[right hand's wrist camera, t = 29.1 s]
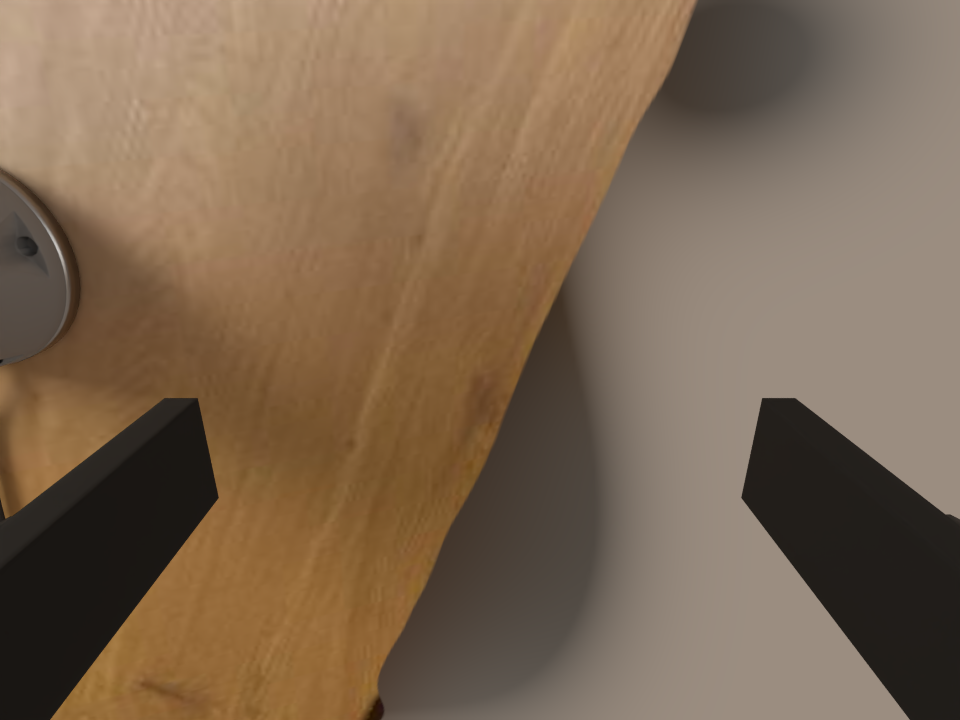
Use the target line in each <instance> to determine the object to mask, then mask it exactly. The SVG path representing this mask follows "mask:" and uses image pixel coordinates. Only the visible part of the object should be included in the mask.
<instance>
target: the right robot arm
mask: <svg viewBox="0 0 960 720" xmlns="http://www.w3.org/2000/svg"><path fill="white" fill-rule="evenodd" d="M79 298H80V278H79V272H78V267H77V263H76V259H75V256H74V253H73V251H72V248H71V246H70V243H69V241H68V239H67V237H66V235H65V233H64V232H63V230H62V228H61V227H60V225H59V224H58V222H57V221H56V219H55V218H54V216H53V215H52V214H51V212H50V211H49V210H48V209H47V207H46V206H45V205H44V204H43V203H42V202H41V201H40V200H39V199H38V198H37V197H36V196H35V195H34V194H33V193H32V192H31V191H30V190H29V189H28V188H26V187H25V186H24V185H23V184H22V183H20V182H19V181H18V180H16V179H15V178H13V177H12V176H11V175H9V174H7V173H6V172H4V171H2V170H1V169H0V366H3V365H7V364H11V363H15V362H18V361H22V360H24V359H27V358H29V357H31V356H34V355H36V354H38V353H40V352H42V351H44V350H46V349H48V348H50V347H51V346H53V345H54V344H55V343H57V342H58V341H59V340H60V339H61V338H62V337H63V336H64V334H65V333H66V332H67V331H68V329H69V328H70V326H71V324H72V322H73V320H74V318H75V315H76V312H77V309H78V305H79ZM218 498H219V497H218V493H217V488H216V483H215V478H214V473H213V469H212V464H211V459H210V454H209V450H208V445H207V440H206V435H205V431H204V426H203V421H202V416H201V412H200V407H199V402H198V398H164V399H163V400H162V401H161V402H159V403H158V404H157V405H155V406H154V407H153V408H152V409H150V410H149V411H148V412H146V413H145V414H144V415H142V416H141V417H140V418H139V419H137V420H136V421H135V422H133V423H132V424H131V425H130V426H128V427H127V428H126V429H124V430H123V431H122V432H121V433H119V434H118V435H117V436H115V437H114V438H113V439H112V440H110V441H109V442H108V443H106V444H105V445H104V446H102V447H101V448H100V449H99V450H97V451H96V452H95V453H93V454H92V455H91V456H90V457H88V458H87V459H86V460H84V461H83V462H82V463H81V464H79V465H78V466H77V467H75V468H74V469H73V470H72V471H70V472H69V473H68V474H66V475H65V476H64V477H63V478H61V479H60V480H59V481H57V482H56V483H55V484H53V485H52V486H51V487H50V488H48V489H47V490H46V491H44V492H43V493H42V494H41V495H39V496H38V497H37V498H35V499H34V500H33V501H32V502H30V503H29V504H28V505H26V506H25V507H24V508H23V509H21V510H20V511H19V512H17V513H16V514H15V515H13V516H10V517H9V518H7V519H5V516H4V512H3V508H2V504H1V500H0V720H50V719H51V718H52V716H53V715H54V714H55V713H56V711H57V710H58V709H59V707H60V706H61V705H62V703H63V702H64V701H65V699H66V698H67V697H68V695H69V694H70V693H71V691H72V690H73V689H74V688H75V686H76V685H77V684H78V682H79V681H80V680H81V678H82V677H83V676H84V674H85V673H86V672H87V670H88V669H89V668H90V666H91V665H92V664H93V662H94V661H95V660H96V659H97V657H98V656H99V655H100V653H101V652H102V651H103V649H104V648H105V647H106V645H107V644H108V643H109V641H110V640H111V639H112V637H113V636H114V635H115V634H116V632H117V631H118V630H119V628H120V627H121V626H122V624H123V623H124V622H125V620H126V619H127V618H128V616H129V615H130V614H131V612H132V611H133V610H134V609H135V607H136V606H137V605H138V603H139V602H140V601H141V599H142V598H143V597H144V595H145V594H146V593H147V591H148V590H149V589H150V587H151V586H152V585H153V584H154V582H155V581H156V580H157V578H158V577H159V576H160V574H161V573H162V572H163V570H164V569H165V568H166V566H167V565H168V564H169V562H170V561H171V560H172V559H173V557H174V556H175V555H176V553H177V552H178V551H179V549H180V548H181V547H182V545H183V544H184V543H185V541H186V540H187V539H188V537H189V536H190V535H191V534H192V532H193V531H194V530H195V528H196V527H197V526H198V524H199V523H200V522H201V520H202V519H203V518H204V516H205V515H206V514H207V512H208V511H209V510H210V509H211V507H212V506H213V505H214V503H215V502H216V501H217V499H218ZM742 499H743V501H744V502H745V503H746V504H747V506H748V507H749V509H750V510H751V511H752V512H753V514H754V515H755V516H756V518H757V519H758V520H759V522H760V523H761V524H762V526H763V527H764V528H765V530H766V531H767V532H768V534H769V535H770V536H771V537H772V539H773V540H774V541H775V543H776V544H777V545H778V547H779V548H780V549H781V551H782V552H783V553H784V555H785V556H786V557H787V559H788V560H789V561H790V562H791V564H792V565H793V566H794V568H795V569H796V570H797V572H798V573H799V574H800V576H801V577H802V578H803V580H804V581H805V582H806V584H807V585H808V586H809V587H810V589H811V590H812V591H813V593H814V594H815V595H816V597H817V598H818V599H819V601H820V602H821V603H822V605H823V606H824V607H825V609H826V610H827V611H828V612H829V614H830V615H831V616H832V618H833V619H834V620H835V622H836V623H837V624H838V626H839V627H840V628H841V630H842V631H843V632H844V634H845V635H846V636H847V637H848V639H849V640H850V641H851V643H852V644H853V645H854V647H855V648H856V649H857V651H858V652H859V653H860V655H861V656H862V657H863V659H864V660H865V661H866V662H867V664H868V665H869V666H870V668H871V669H872V670H873V672H874V673H875V674H876V676H877V677H878V678H879V680H880V681H881V682H882V684H883V685H884V686H885V688H886V689H887V690H888V691H889V693H890V694H891V695H892V697H893V698H894V699H895V701H896V702H897V703H898V705H899V706H900V707H901V709H902V710H903V711H904V713H905V714H906V715H907V716H908V718H909V719H910V720H960V519H958V518H956V517H954V516H952V515H945V514H944V513H943V512H941V511H940V510H939V509H937V508H936V507H935V506H934V505H932V504H931V503H930V502H928V501H927V500H926V499H924V498H923V497H922V496H921V495H919V494H918V493H917V492H916V491H914V490H913V489H912V488H910V487H909V486H908V485H907V484H905V483H904V482H903V481H901V480H900V479H899V478H897V477H896V476H895V475H894V474H892V473H891V472H890V471H888V470H887V469H886V468H885V467H883V466H882V465H881V464H879V463H878V462H877V461H876V460H874V459H873V458H872V457H870V456H869V455H868V454H867V453H865V452H864V451H863V450H861V449H860V448H859V447H857V446H856V445H855V444H854V443H852V442H851V441H850V440H848V439H847V438H846V437H845V436H843V435H842V434H841V433H839V432H838V431H837V430H835V429H834V428H833V427H832V426H830V425H829V424H828V423H827V422H825V421H824V420H823V419H821V418H820V417H819V416H818V415H816V414H815V413H814V412H812V411H811V410H810V409H808V408H807V407H806V406H805V405H803V404H802V403H801V402H799V401H798V400H797V399H795V398H762V402H761V407H760V412H759V416H758V421H757V426H756V431H755V435H754V440H753V445H752V450H751V454H750V459H749V464H748V469H747V473H746V478H745V483H744V488H743V493H742Z"/></svg>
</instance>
